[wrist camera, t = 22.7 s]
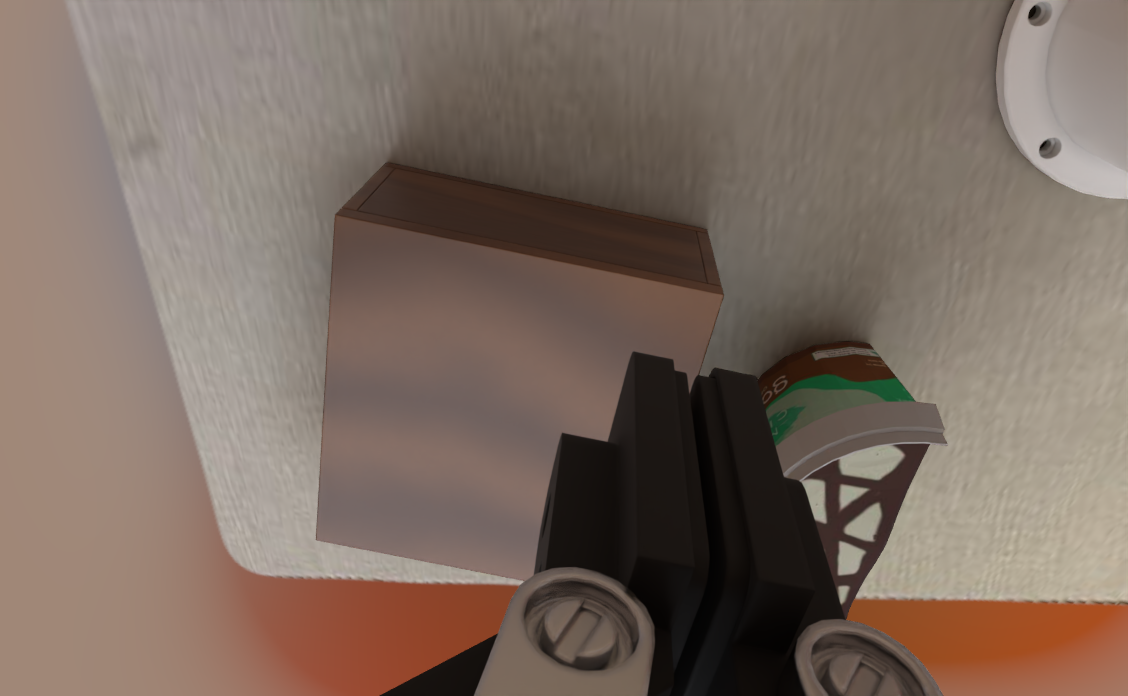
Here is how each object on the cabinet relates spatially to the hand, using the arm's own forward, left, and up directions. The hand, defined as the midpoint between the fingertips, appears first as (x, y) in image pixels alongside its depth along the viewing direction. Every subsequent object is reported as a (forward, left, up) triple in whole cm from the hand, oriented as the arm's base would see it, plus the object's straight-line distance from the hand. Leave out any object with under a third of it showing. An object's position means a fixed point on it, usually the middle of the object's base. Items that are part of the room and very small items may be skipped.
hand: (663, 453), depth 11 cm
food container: (-11, +14, -27) cm, 33 cm away
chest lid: (+3, +14, -20) cm, 25 cm away
